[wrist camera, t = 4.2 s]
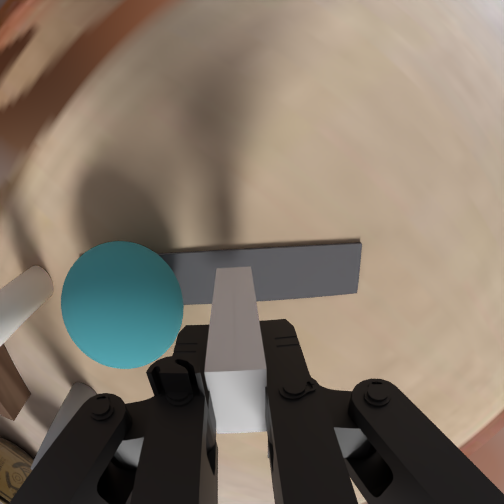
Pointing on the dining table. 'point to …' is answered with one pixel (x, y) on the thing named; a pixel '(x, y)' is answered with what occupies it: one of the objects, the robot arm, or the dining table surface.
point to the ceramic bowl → (12, 469)
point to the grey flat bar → (271, 271)
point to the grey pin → (64, 416)
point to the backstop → (11, 387)
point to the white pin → (22, 299)
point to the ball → (122, 304)
